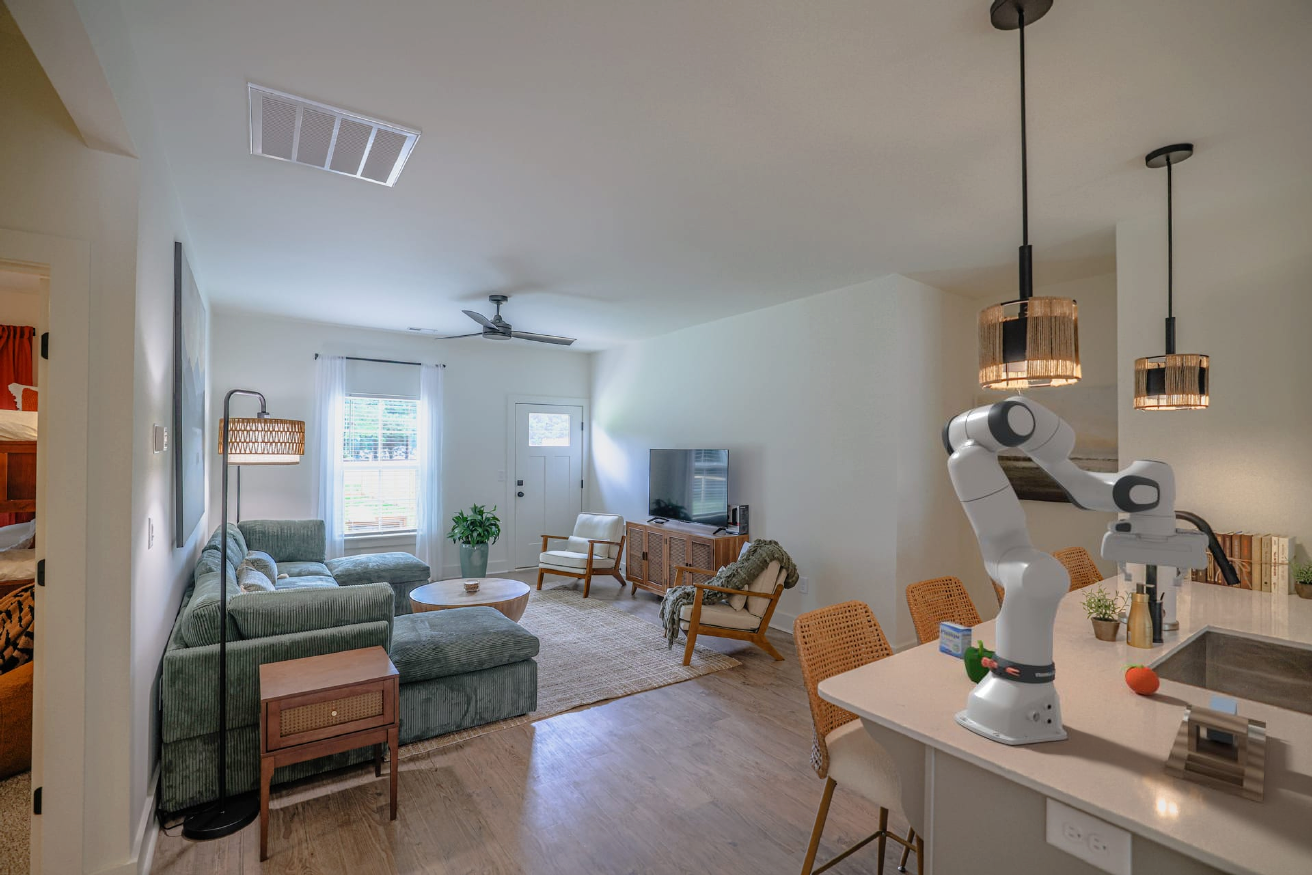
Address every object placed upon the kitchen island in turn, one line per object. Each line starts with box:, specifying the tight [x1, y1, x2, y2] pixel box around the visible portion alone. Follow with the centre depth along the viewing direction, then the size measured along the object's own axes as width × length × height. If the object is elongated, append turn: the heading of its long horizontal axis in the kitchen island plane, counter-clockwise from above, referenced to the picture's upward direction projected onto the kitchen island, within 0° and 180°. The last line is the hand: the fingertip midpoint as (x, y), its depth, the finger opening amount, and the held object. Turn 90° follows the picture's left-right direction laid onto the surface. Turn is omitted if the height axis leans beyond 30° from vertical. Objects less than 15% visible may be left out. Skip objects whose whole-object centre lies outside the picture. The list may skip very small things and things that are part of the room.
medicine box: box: [938, 621, 973, 660], centre depth 183 cm, size 8×4×9 cm, turn 25°
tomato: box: [1119, 664, 1161, 696], centre depth 155 cm, size 8×7×7 cm
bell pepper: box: [963, 639, 995, 683], centre depth 161 cm, size 8×8×10 cm
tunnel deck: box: [1165, 703, 1267, 804], centre depth 124 cm, size 38×13×8 cm, turn 134°
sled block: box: [1207, 695, 1238, 744], centre depth 130 cm, size 16×4×4 cm, turn 134°
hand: (1152, 583), depth 149 cm, fingers open, 8 cm apart
